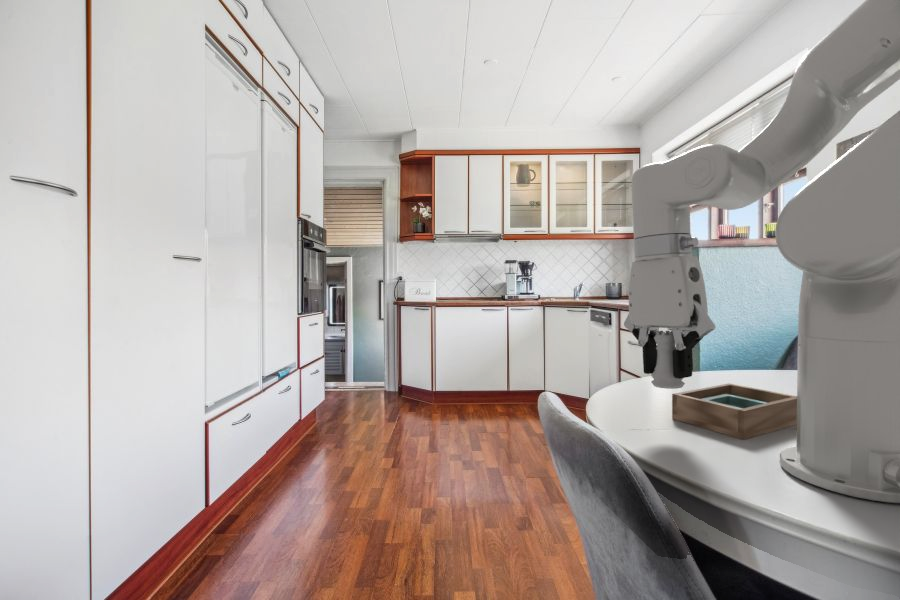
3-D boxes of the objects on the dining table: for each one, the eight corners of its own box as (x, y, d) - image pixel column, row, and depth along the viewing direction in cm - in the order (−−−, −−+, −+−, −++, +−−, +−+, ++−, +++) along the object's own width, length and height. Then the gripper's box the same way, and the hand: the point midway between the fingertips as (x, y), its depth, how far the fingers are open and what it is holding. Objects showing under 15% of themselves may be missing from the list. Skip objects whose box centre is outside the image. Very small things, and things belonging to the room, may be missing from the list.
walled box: (801, 423, 67) (802, 397, 67) (743, 439, 61) (744, 411, 60) (729, 405, 77) (729, 383, 77) (672, 418, 70) (672, 393, 70)
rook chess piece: (677, 382, 66) (675, 329, 66) (690, 388, 62) (688, 332, 62) (646, 383, 67) (644, 330, 67) (657, 389, 62) (655, 333, 62)
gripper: (736, 242, 58) (742, 380, 58) (633, 256, 73) (637, 365, 73) (700, 241, 55) (707, 387, 55) (599, 256, 70) (604, 370, 70)
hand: (667, 373), depth 64 cm, fingers closed on rook chess piece, 4 cm apart
